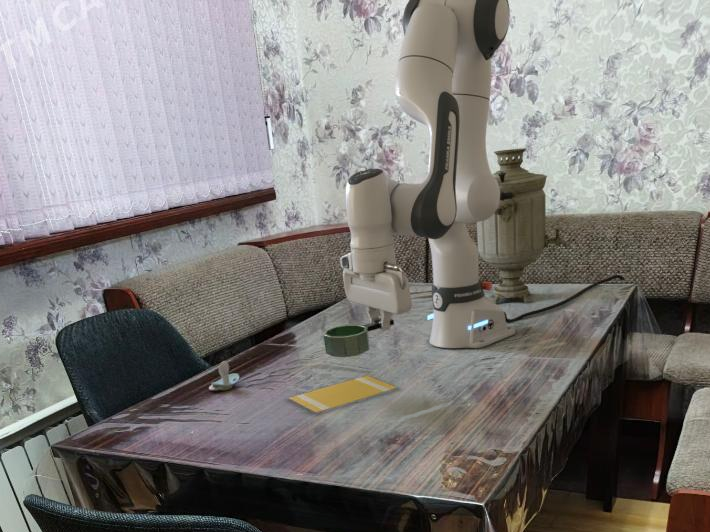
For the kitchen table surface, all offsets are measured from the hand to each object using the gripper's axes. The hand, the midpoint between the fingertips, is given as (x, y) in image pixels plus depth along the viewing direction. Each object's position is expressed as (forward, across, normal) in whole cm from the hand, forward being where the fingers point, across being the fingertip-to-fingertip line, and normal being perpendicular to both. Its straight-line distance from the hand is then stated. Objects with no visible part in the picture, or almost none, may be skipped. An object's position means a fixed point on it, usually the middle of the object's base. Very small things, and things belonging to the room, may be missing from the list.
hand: (380, 328), depth 150 cm
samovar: (+14, +33, -71) cm, 79 cm away
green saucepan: (+3, 0, +5) cm, 6 cm away
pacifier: (+11, +25, +28) cm, 39 cm away
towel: (+12, 0, +11) cm, 16 cm away
